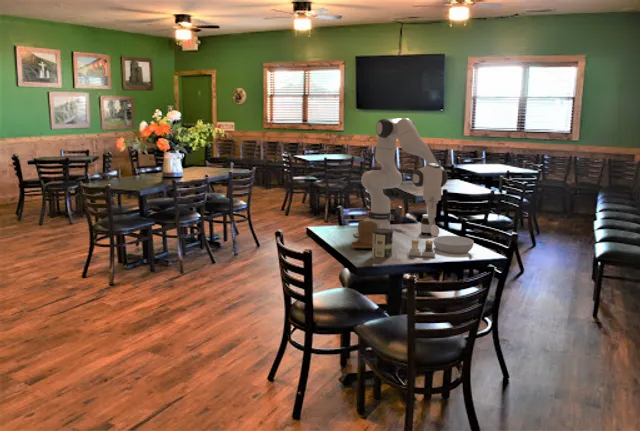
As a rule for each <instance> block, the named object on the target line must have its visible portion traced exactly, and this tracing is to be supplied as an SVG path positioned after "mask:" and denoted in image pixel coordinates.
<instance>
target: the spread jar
mask: <svg viewBox="0 0 640 431" xmlns="http://www.w3.org/2000/svg"><path fill="white" fill-rule="evenodd" d="M420 234H421V235H424V236H433V237H439V234H440V228H439V226H438V225H436V220H435V218H434V220H433V225H432V226H431V225H429V221H428V214H427V213H425V214H422V218H421V221H420Z"/></svg>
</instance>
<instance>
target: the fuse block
mask: <svg viewBox="0 0 640 431" xmlns="http://www.w3.org/2000/svg"><path fill="white" fill-rule="evenodd" d="M411 250H412V247H411V248H409V247H408V251H407V258H419V259H431V260H432V259H434V260H436V258H437V257H436V251H435V249H432V252H425V248H422V250H421V248H418V251H411Z"/></svg>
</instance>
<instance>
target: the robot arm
mask: <svg viewBox="0 0 640 431" xmlns="http://www.w3.org/2000/svg"><path fill="white" fill-rule="evenodd" d="M375 130H376V131H375V132H376V134H377V139H376V146H375V153H374V159H375V161H376V162H377V164H380V166H381V169H376V170H375V169H372V170H368V171H364V172H363V173H362V176H361V178H360V179H361V180H360V181H361V185H362V186H363V188H364V189H365V190H367V192H368V193H369V196H370V201H371V202H370V204H371V207H370V210H367V217H366V218H365V219H363V220H362V221H372V222H376V223H377V229H390V230H391V223H390V222H391V218H392V217H391V216H392V215H391V199H390V197H389V196H388V195H386V194H384V189H387V190H388V189H394V188H397V187H399V186H401V184H402V182H403V175H402V174H401V172H400V171H399V170H398V169H397V167H396V162H395V157H396V156H395V155H396V146H397V140H398V143H399V145H400V148H401V149H402V150H403V151H404V152H405V153H407V154H410V155H413V156H417V157H420V158H422V159H423V160H424V161H425V162H426V164H425V165H424V166H423V167H420V168H417V169H415V170H414V171H413V172H412V176H411V181H412V183H413V185H414V186H415V187H417V188H423V189H422V191H423V192H422V200H423V201H424V203H425V207H426V214H428V221H429V225H431V226H432V225H433V220H434V219H435V218H436V217H437V205H438V203H439V201H441V200H442V188H443V187H444V186H445V185H446V184H447V182H448V180H449V178H448V173H447V171H446V170H445V168H444V167H443V166H442V165H441V163H440V161H439V160H438V158H437V156H436V154H435V153H434V151H433V150H432V148H431V146H430V145H429V144H428V143H426V142H425V141H424V140H423V138H422V137H421V136H420V134H419V132H418V130H417V127H416V125H415V122H414V121H413V120H412V119H410V118H407V117H404V118H402V117H400V118H399V117H395V118H393V117H392V118H380V119H379V120H378V121H377V122H376V126H375ZM353 236H354V237H357V238H359V232H358V228H357V230H354V232H353Z"/></svg>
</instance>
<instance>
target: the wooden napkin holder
mask: <svg viewBox="0 0 640 431" xmlns="http://www.w3.org/2000/svg"><path fill="white" fill-rule="evenodd" d="M357 229H358V232H359V237H358V240H356V241H352V242H351V246H352V247H351V248H352V249H372V242H373V230H374V229H377V223H376V222H372V221H363V220H359V221H358V225H357Z"/></svg>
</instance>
